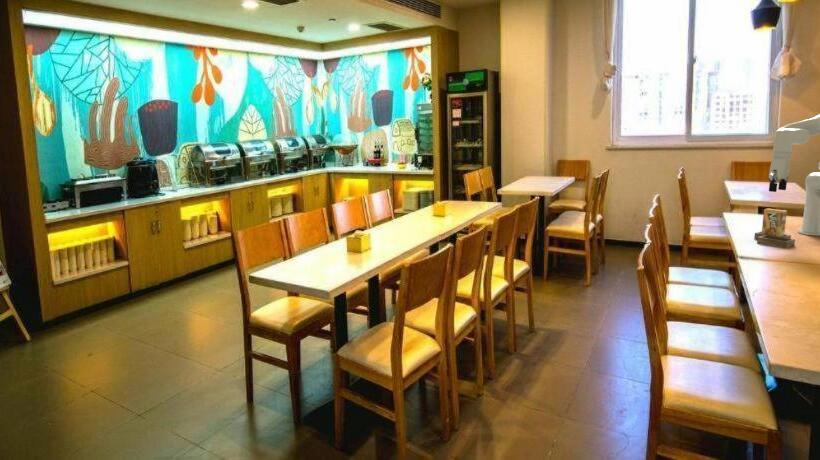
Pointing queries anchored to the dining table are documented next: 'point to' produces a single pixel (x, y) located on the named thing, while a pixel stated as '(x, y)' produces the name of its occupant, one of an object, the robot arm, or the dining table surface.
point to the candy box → (774, 222)
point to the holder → (774, 240)
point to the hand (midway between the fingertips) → (777, 190)
